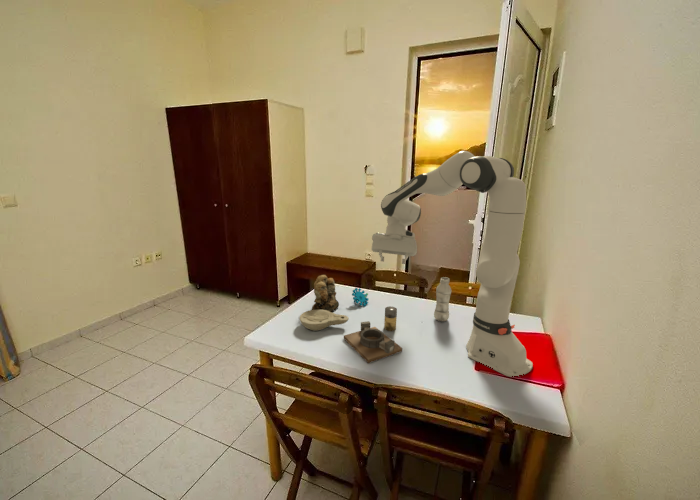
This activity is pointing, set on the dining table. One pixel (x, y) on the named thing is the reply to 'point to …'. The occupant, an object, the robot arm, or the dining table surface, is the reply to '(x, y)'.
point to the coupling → (390, 318)
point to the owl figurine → (325, 294)
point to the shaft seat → (372, 343)
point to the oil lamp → (321, 319)
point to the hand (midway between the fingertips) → (392, 262)
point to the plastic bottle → (442, 300)
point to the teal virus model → (360, 297)
